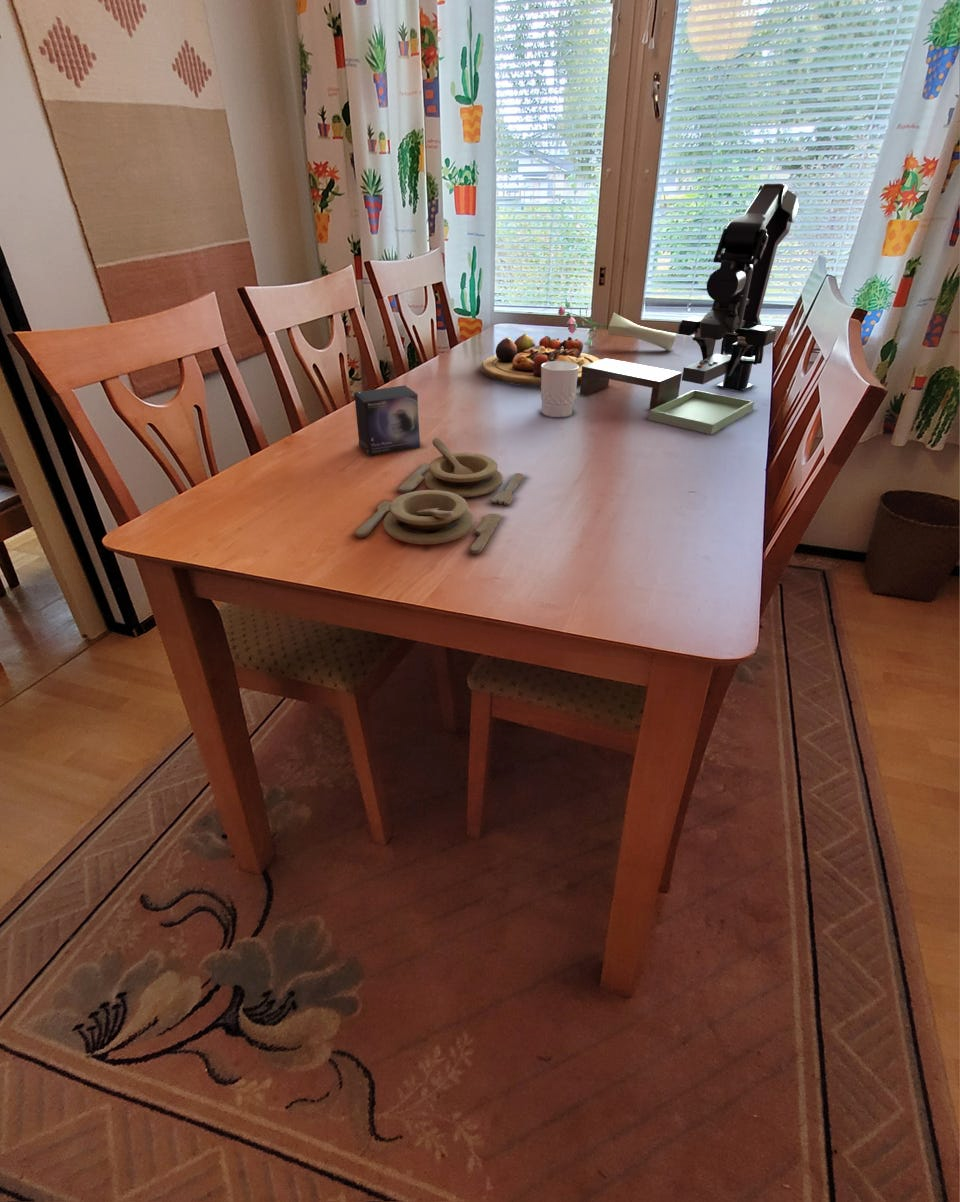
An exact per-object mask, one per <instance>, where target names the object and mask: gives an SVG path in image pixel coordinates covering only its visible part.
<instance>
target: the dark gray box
mask: <svg viewBox="0 0 960 1202" xmlns="http://www.w3.org/2000/svg"><path fill="white" fill-rule="evenodd" d="M730 358H731V356H728V355H722V354H721V353H715V354H714V353H713V355H712V356H710V357H707V358H705V359H703V358H702V359H700V360H698V361H695V362H693V363H691V364H689V365H686V366H684V367H683V369H682V375H681V381H682V382H687V383H693V384H699V385H705V384H707V383H709V382H711V381H713V380H715V379H717V378H719V377H721V376H724V375H725V374H726V373H727V371H728V366H729V362H730Z"/></svg>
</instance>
